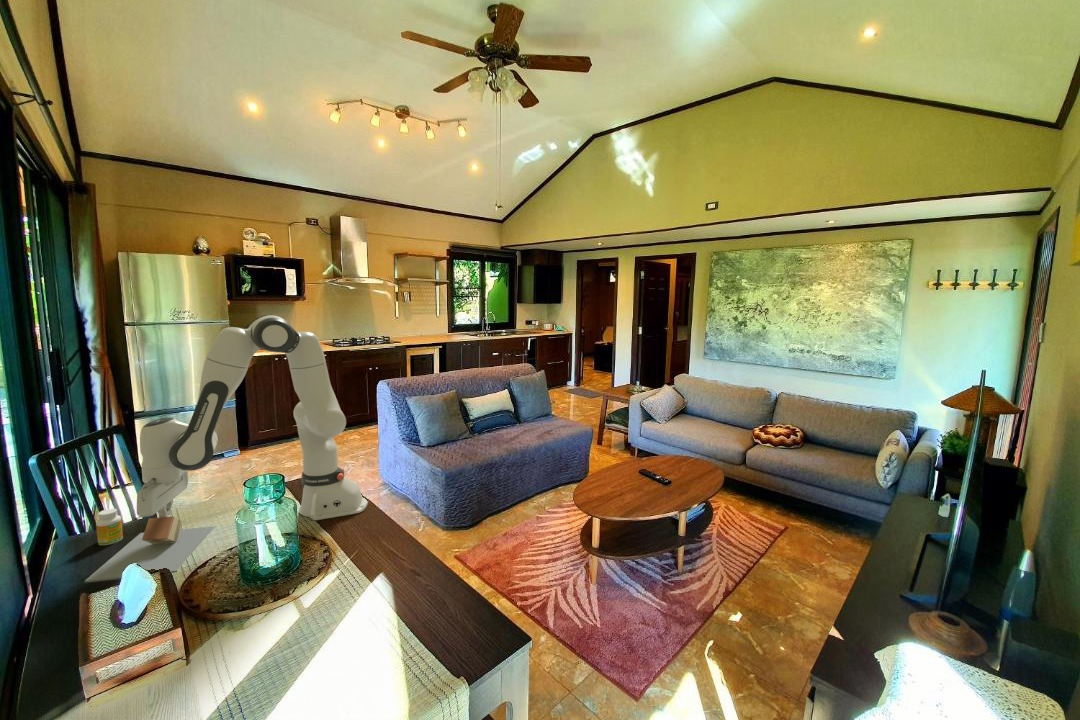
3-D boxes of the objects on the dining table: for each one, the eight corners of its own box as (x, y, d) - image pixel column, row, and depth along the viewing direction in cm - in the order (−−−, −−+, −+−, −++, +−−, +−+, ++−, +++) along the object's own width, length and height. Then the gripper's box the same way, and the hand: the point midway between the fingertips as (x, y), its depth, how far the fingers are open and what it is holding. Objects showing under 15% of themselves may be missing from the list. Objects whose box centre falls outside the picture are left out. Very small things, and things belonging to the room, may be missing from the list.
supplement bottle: (110, 547, 129) (107, 516, 128) (92, 546, 129) (89, 515, 128) (128, 537, 134) (125, 507, 133) (111, 536, 134) (107, 506, 133)
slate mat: (215, 527, 142) (215, 526, 141) (176, 572, 119) (176, 570, 119) (140, 534, 136) (140, 532, 136) (84, 582, 113) (84, 580, 113)
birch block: (182, 521, 135) (172, 516, 130) (176, 541, 132) (166, 537, 127) (159, 523, 134) (148, 518, 129) (152, 544, 130) (141, 540, 126)
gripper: (154, 486, 121) (158, 532, 123) (191, 459, 141) (194, 500, 142) (126, 487, 119) (130, 535, 121) (168, 461, 139) (171, 502, 141)
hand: (165, 516), depth 132 cm, fingers closed
